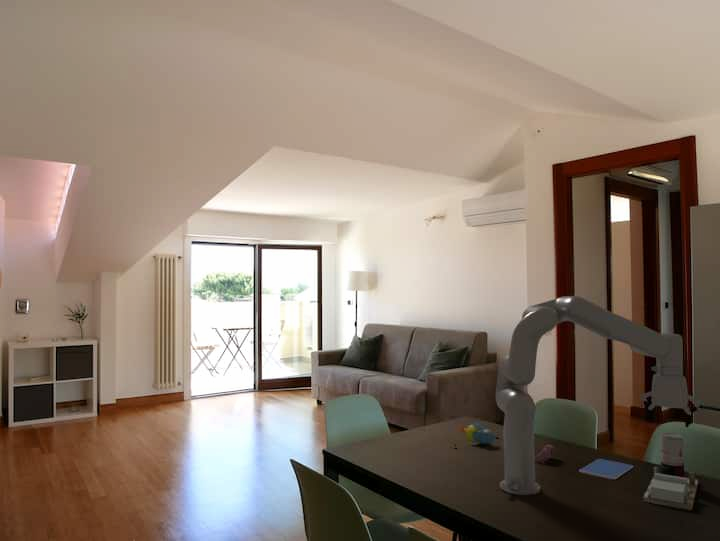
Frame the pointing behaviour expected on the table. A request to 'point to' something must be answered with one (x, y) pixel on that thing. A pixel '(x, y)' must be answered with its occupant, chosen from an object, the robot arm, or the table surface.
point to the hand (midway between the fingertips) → (669, 424)
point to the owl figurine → (478, 434)
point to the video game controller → (545, 453)
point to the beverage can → (672, 454)
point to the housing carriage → (668, 488)
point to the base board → (688, 502)
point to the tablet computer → (606, 469)
